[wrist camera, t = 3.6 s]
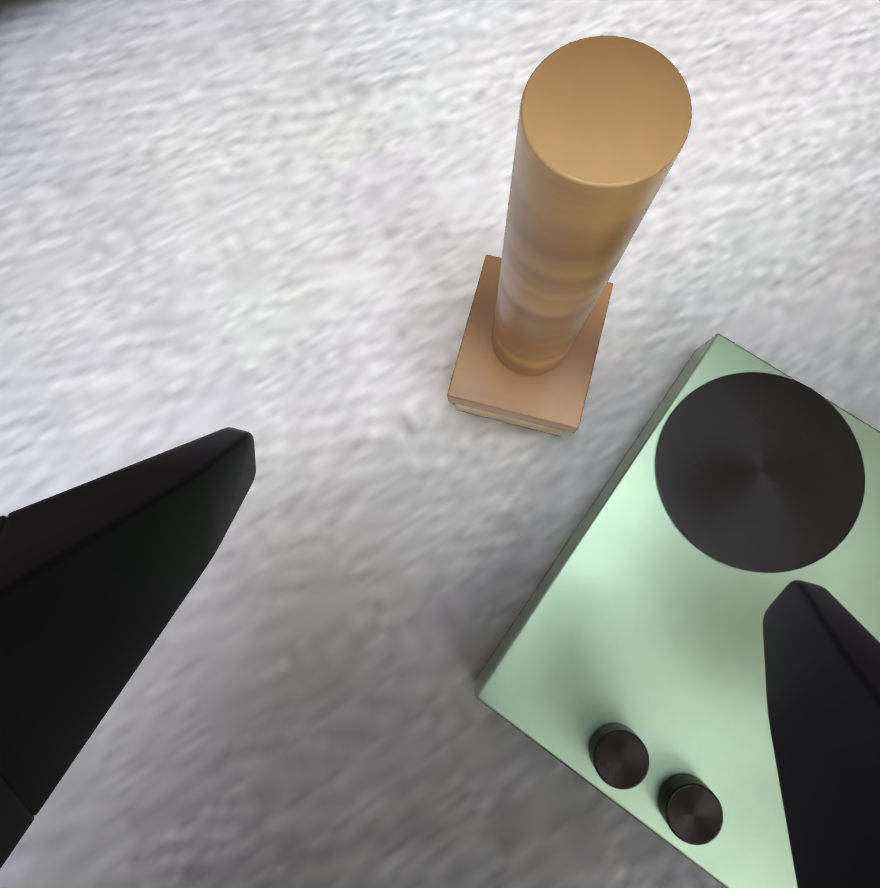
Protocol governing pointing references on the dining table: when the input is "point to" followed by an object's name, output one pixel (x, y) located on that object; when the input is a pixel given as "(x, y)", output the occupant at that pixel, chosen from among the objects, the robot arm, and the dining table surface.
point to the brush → (568, 227)
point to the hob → (696, 607)
